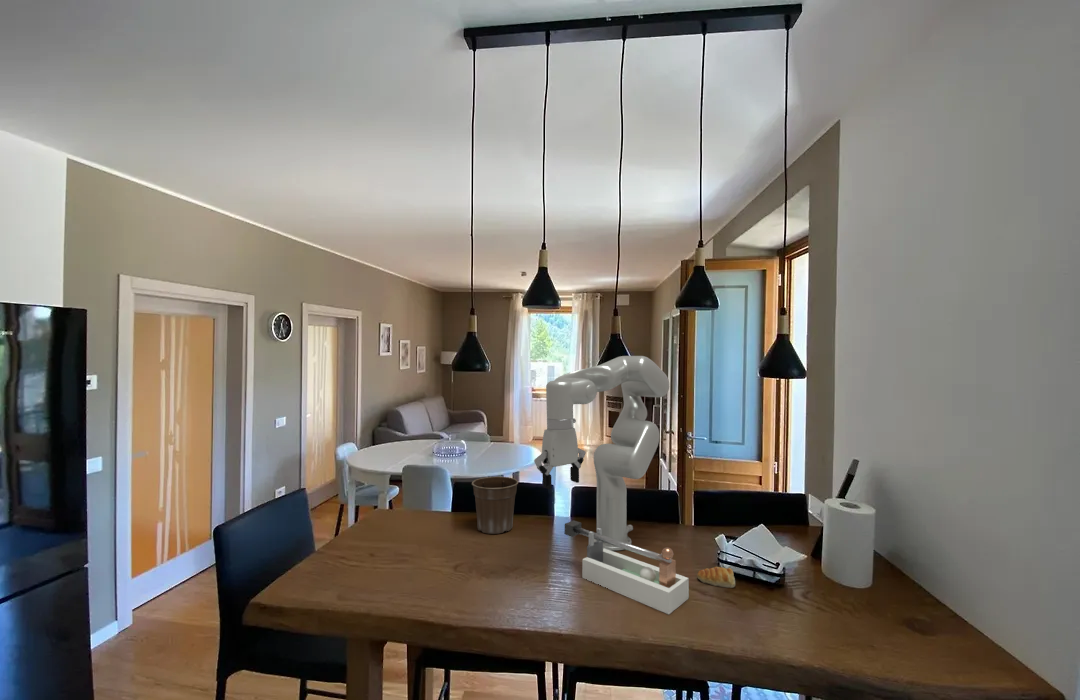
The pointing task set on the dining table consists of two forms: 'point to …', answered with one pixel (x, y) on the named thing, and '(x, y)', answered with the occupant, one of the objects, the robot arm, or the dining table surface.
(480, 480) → the plant pot
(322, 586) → the dining table surface
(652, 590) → the foosball box
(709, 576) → the pastry
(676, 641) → the dining table surface
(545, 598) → the dining table surface
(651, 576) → the ball
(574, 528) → the kicker rod
